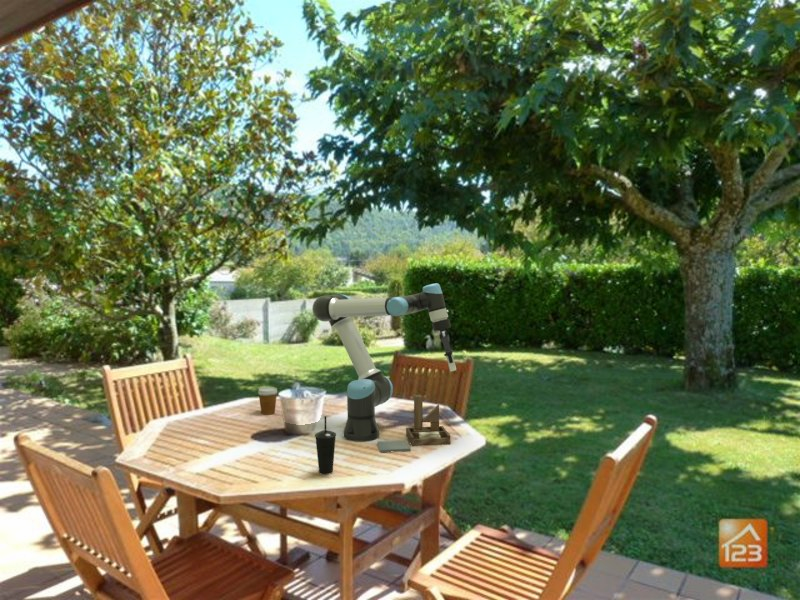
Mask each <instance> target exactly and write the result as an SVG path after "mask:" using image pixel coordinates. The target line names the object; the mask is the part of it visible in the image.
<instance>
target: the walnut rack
mask: <svg viewBox="0 0 800 600" xmlns="http://www.w3.org/2000/svg"><path fill="white" fill-rule="evenodd" d="M423 428H427V429H430V430H431V426H423ZM430 432H439V435H440V436H441V438H427V439H419V433H418V432H414V426H413V427H405V435H406V438H407V440H408V443H409V444H410V443H411V444H410V446H411V445H412V446H411V447H418V446H421V447H423V446H437V445H439V446H440V445H442V444H443V445H451V435H450V433H449V432H448V430H447V429H446V428H445V427H444V425H439V431H430ZM422 445H423V446H422Z"/></svg>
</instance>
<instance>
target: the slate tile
mask: <svg viewBox="0 0 800 600" xmlns="http://www.w3.org/2000/svg"><path fill="white" fill-rule="evenodd" d="M376 445H377V448H378V447H379V448H378V450H379V453H380V452H383V453H392V452H391V451H402V452H411V451H410V450H411V449H412V448H411V447H410V445H409V442H408V441H407V440H406V439H401V440H400V439H399V440H398V439H397V440H382V441H380V440H378V441H376Z"/></svg>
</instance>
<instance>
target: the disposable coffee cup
mask: <svg viewBox="0 0 800 600" xmlns="http://www.w3.org/2000/svg"><path fill="white" fill-rule="evenodd" d="M257 394H258V397H259V398H258V399H259V406H260V413H261V415H264V416H270V415H275V413H276V405H277V397H278V396H277V395H278V388H277V387H272V386H271V387H270V386H269V387H268V386H267V387H262V388H259V389H258V391H257Z"/></svg>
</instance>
